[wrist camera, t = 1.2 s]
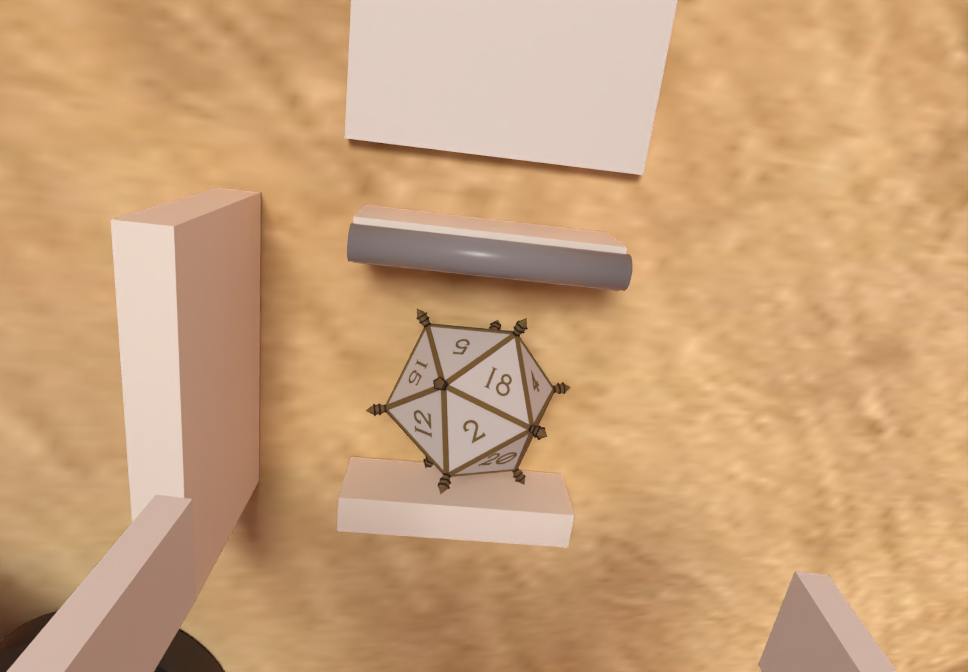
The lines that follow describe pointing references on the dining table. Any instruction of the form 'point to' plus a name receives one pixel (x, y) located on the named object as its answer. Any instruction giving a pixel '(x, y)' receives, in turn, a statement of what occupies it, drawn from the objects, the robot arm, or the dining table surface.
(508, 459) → the game die
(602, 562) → the dining table surface
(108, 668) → the robot arm
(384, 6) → the mat
